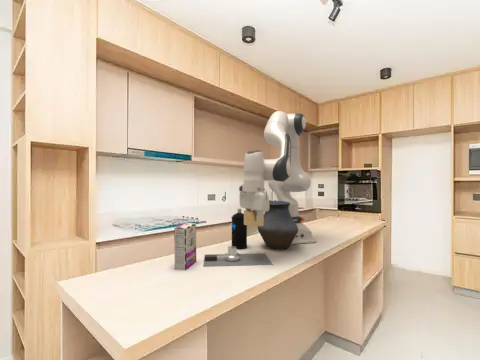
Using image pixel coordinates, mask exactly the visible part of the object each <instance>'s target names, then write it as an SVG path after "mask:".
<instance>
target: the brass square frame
mask: <svg viewBox="0 0 480 360" xmlns="http://www.w3.org/2000/svg"><path fill="white" fill-rule="evenodd" d="M264 213H265V212H263V213H262V216H261V221H260V222H257V221H256V220H255V217H256V216H257V211H256V210H246V209H245V210H243V214H244V225H247V227H250V228H251V227H258V226H264Z"/></svg>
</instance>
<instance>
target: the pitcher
mask: <svg viewBox="0 0 480 360" xmlns="http://www.w3.org/2000/svg"><path fill="white" fill-rule="evenodd" d="M289 205H290V202H285V201H278V200H270V199H269V206H270V208H269V211H266V212H264V226H257V230H258V233H259V235H260V236H261V238H262V240H263V242H264V244H265V245H266V247H267V248H269V249H271V250H281V251H282V250H287V249H289V248H290V246H291V245H292V244H291V243H292V241H293V239H294V238H295V236H296V234H297V232H298V227H297V225H296V224H295V222H294V221H293V219H292V217H291V215H290V213H289V209H288V208H289Z"/></svg>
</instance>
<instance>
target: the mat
mask: <svg viewBox="0 0 480 360" xmlns="http://www.w3.org/2000/svg"><path fill="white" fill-rule="evenodd" d="M224 254H225V253H221V254H220V253H218V254H216V253H215V254H213V253H212V254H207V255H217V256H223V255H224ZM239 254H240V261H237V262H227V261H205V255H204V256H203V264H202V268H209V267H210V268H213V267H214V268H215V267H243V266H244V267H246V266H247V267H248V266H253V267H254V266H274V264H273V262H272V261H271V259H270V258H269V256H268V255H267V254H266V253H265V252H261V253H259V252H258V253H254V252H253V253H239Z"/></svg>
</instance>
